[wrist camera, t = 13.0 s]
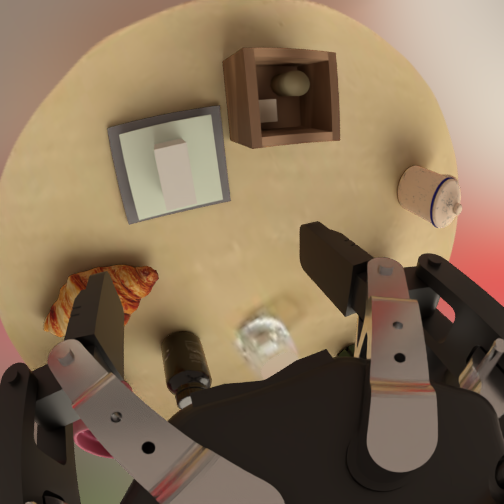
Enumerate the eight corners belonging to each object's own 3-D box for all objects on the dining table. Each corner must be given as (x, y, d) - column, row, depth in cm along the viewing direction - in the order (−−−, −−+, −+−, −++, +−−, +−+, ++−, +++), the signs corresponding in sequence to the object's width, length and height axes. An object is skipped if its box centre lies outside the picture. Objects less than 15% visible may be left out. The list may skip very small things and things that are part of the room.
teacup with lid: (400, 218, 48) (445, 245, 38) (391, 177, 43) (443, 200, 33) (435, 188, 48) (479, 209, 38) (429, 149, 43) (478, 167, 33)
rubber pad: (218, 105, 29) (219, 105, 29) (229, 199, 35) (230, 200, 35) (108, 127, 26) (107, 128, 26) (129, 222, 32) (128, 224, 32)
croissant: (62, 319, 38) (70, 363, 35) (20, 298, 30) (24, 350, 26) (164, 265, 40) (181, 312, 36) (131, 229, 31) (145, 286, 27)
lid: (207, 114, 29) (221, 114, 23) (219, 194, 34) (234, 214, 28) (121, 133, 27) (112, 138, 21) (139, 214, 32) (137, 238, 26)
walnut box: (299, 60, 29) (335, 52, 23) (304, 132, 34) (340, 140, 28) (222, 61, 27) (243, 47, 20) (230, 140, 32) (252, 148, 25)
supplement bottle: (153, 338, 42) (161, 399, 32) (191, 324, 43) (208, 384, 33) (171, 362, 45) (183, 419, 36) (206, 349, 47) (224, 405, 37)
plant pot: (157, 397, 49) (167, 451, 38) (104, 412, 47) (107, 463, 36) (118, 357, 41) (120, 421, 31) (61, 376, 39) (56, 434, 29)
